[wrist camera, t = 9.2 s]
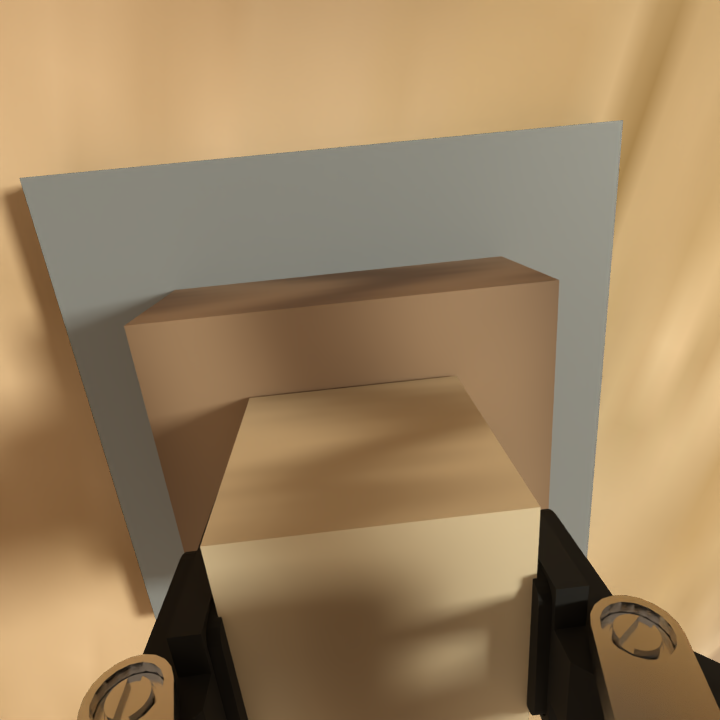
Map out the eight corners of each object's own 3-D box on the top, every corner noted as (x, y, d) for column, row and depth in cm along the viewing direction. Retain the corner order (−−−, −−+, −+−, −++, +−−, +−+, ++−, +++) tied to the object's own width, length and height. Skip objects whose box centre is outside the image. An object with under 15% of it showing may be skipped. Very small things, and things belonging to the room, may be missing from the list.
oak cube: (456, 375, 12) (540, 506, 7) (459, 539, 14) (528, 729, 9) (249, 398, 12) (200, 547, 7) (280, 561, 14) (256, 764, 9)
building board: (596, 125, 15) (622, 120, 14) (567, 557, 21) (584, 584, 20) (48, 178, 15) (19, 178, 14) (172, 606, 21) (161, 636, 19)
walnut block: (501, 256, 15) (559, 280, 11) (499, 523, 19) (543, 609, 15) (175, 290, 15) (123, 325, 11) (234, 554, 18) (210, 651, 14)
